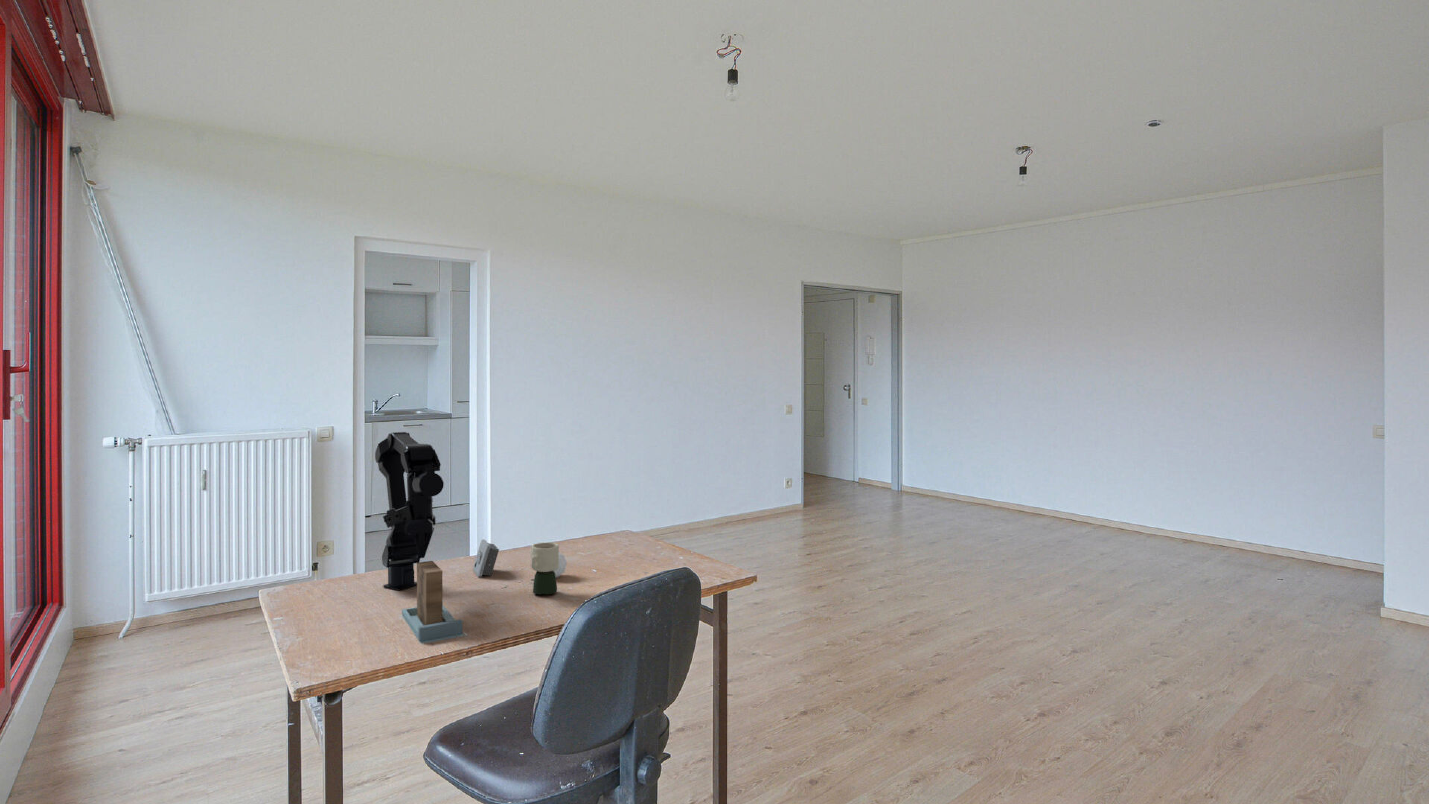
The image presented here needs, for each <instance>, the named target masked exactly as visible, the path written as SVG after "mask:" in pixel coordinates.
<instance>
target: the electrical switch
mask: <svg viewBox="0 0 1429 804" xmlns="http://www.w3.org/2000/svg"><path fill="white" fill-rule="evenodd" d="M499 550H500V549H499V548H498V547H497V545H495V544H494V543H489V542H488V541H487V540H486V539H483V538H482V539H481V540H480V544H479V546H478V550H477V553H476V556H475V560H474V563H473V565H472V566H473V567H472V570H473V572H474V574H475V575H476V576H477V577H478V578H482V576H489V577H490V576H491V577H492V574H493V571H494V569H495V565H496V561H497V558H498V555H499Z"/></svg>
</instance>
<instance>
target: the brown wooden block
mask: <svg viewBox="0 0 1429 804" xmlns="http://www.w3.org/2000/svg"><path fill="white" fill-rule="evenodd" d="M416 582H417V585H416V607H417V617H418V619H419V620H420V621H421V623H422V624H423V625H429V624H435V623H441V622H442V605H443V569H441V568H440V567H439V566H438V565H437V564H436V563H435V562H434V561H433V560H428V561H419V563H416Z"/></svg>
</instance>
